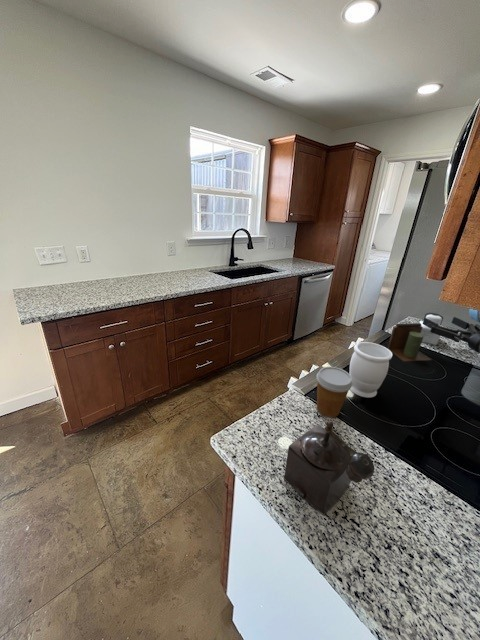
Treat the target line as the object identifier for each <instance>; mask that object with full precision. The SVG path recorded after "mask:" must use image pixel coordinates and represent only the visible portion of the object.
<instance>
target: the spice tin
mask: <svg viewBox="0 0 480 640" xmlns="http://www.w3.org/2000/svg"><path fill="white" fill-rule="evenodd" d="M423 337H424V335H423V334H421V333H418V332H410V333H409V336H408V339H407V342H406V345H405V348H404V351H403V354H404V355H406V356H408V357H412V358H415V357H417V354H418V352H419V351H420V348H421V346H422V343H423V342H422V340H423Z"/></svg>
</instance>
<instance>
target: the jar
mask: <svg viewBox="0 0 480 640" xmlns="http://www.w3.org/2000/svg"><path fill="white" fill-rule="evenodd" d="M392 358H393V352H391V351H390V350H389V349H388V348H387V347H385V346H384V345H381V344H378V343H375V342H371V341H360V342H357V343H354V346H353V353H352V355H351V358H350V361H349V374H350V376H351V378H352V382H353V385H352V387H351V388H350V389H349V391H350V392H352V393H353V394H355V395H357V396H359V397H362V398H367V399H369V398H374V397H376V396H377V394H378V390H379V389H380V387H381V386H382V385H383V382H384V381H385V379H386V376H387V375H388V372H389V367H390V360H392Z"/></svg>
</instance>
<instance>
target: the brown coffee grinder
mask: <svg viewBox="0 0 480 640" xmlns="http://www.w3.org/2000/svg"><path fill="white" fill-rule="evenodd" d="M333 428H334V422H332V420H329V421H327V422H326V425H325V427H324V426H322V425H320V424H319V423H318V424H315V425H314V426H313V427H311V428H310V429H309V430H307V431H306V432H305V433H304V434H302V435H301V436H299V437H298V438H297V439H295V440H294V441H293V442H291V444H290V445H288V449H287V455H286V463H285V469H284V475H283V478H284V479H285V481H286V482H287V483H288V484H289V485H290V486H291V487H292V488H293V489H294V490H295V492H296V493H297V494H298V495H299V496H300V497H301V498H302V499H303V500H305V501H306V502H307V503H308V504H309V505H311V507H313V508H314V510H316V511H317V512H319V513H320V514H322V515H325V514H326V513H328V512H329V511H330V510H331V509H332V508H333V507H334V506H335V505H336V504H337V503H338V502H339V501H340V500H341V498H342V497H343V496H344V495H345V493H346V491H347V489H348V488H349V486H350V485H351V483H352V482H354V483H355V484H359V483H361V482H362V481H363V480H368V479H370V478H372V477H373V476H374V473H375V465H374V464H375V463H374V462H373V461H372V459H371V457H370V456H369V455H367V454H366V453H364V452H361V451H356V450H354V449H353V448H352V447H351V446H349V445H348V443H347V442H345V441H344V440H342V438H341V437H340V436H339V435H338V434H337V433H336V432H334V430H333ZM351 481H352V482H351Z"/></svg>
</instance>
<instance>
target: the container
mask: <svg viewBox="0 0 480 640" xmlns="http://www.w3.org/2000/svg"><path fill="white" fill-rule="evenodd" d="M424 318H427V319H429V320H431V321H433V322H435V323H437V324H438V326H442V324H443V320H444V317H443V316H442V314H441V315H440V314H438V313H435V312H426V313H425V314H424V317H423V320H420V321H419V323H421V326H422V330H421V334H423V335H424V337H423V340H422V343H427V344H430V345H436V346H437V345H438V343H439V340H440V338H441V336H440V335H437V334H434V333H431V332H430V331H431V328H429V327H427V326H425V325H424V324H423V321H424Z"/></svg>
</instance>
